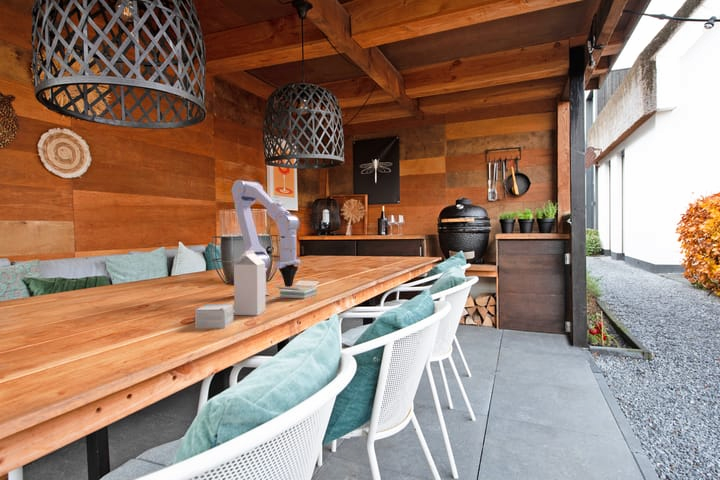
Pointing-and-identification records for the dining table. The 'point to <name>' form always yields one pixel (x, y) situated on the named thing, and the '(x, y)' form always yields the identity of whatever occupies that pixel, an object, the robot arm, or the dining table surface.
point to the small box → (214, 316)
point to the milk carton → (249, 285)
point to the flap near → (289, 288)
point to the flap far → (307, 283)
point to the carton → (298, 293)
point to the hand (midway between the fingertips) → (288, 286)
